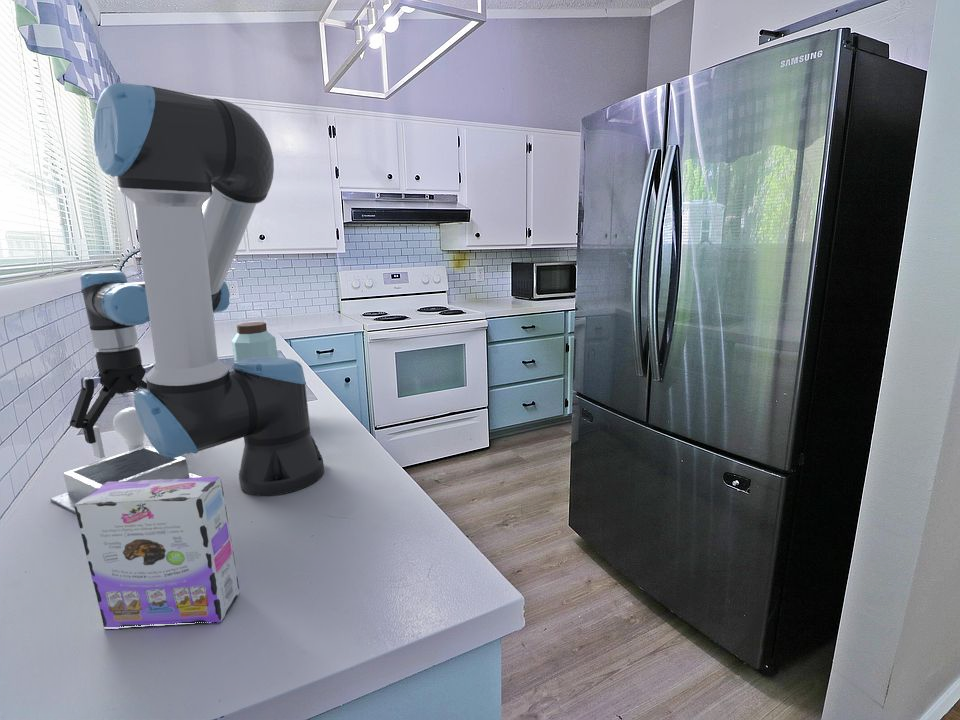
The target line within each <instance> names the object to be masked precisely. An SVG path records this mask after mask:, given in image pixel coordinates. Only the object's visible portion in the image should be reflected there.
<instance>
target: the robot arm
mask: <svg viewBox="0 0 960 720" xmlns="http://www.w3.org/2000/svg"><path fill="white" fill-rule="evenodd" d="M93 144H94V145H93V146H94V152H95V153H94V154H95V156H96V157H97V163H98V165H99V167H100V169H101V171H102V172H103V173H105V174H106V175H109V176H110V177H112V178H115V177H116V182H117V189H118V191H119V192H121V193H122V195H124V196H125V197H127V199H129V200H130V201H131V202H132V204H133V208H134V209H133V210H134V216H135V224H136V225H135V226H136V230H137V231H136V232H137V236H138V237H137V239H138V246H139V252H140V259H141V267H142V274H143V281H140V282H139V281H138V282H128V280H127V279H128V278H127V275H126V274H125V272H123V271H121V270H107V271H106V270H103V271H90V272H89V271H88V272H84V273H82V274H81V275H80V277H79V278H80V284H81V285H80V286H81V289H80V293H82V297H83V302H84V306H85V311H86V315H87V321H88V324H89V325H88V326H89V330H90V335H91V340H92V346H93V349H94V350H96V351H95V353H94V355H95V361H96V365H97V369H98V376H95V377H86V376H83V377H82V378H81V379H80V385H81V386H80V387H81V389H80V392H79V395H78V398H77V400H76V401H77V402H76V404H75V408H74V410H73V412H72V415H71V417H70V421H69V425H70V426H71V427H73V428H75V429H79V430H80V429H82V430H83V431H82V432H83V435H84V439H85V442H86V443H87V444H90V445H91V447H92V450H93V456H94V457H95V458H98V459H105V458H106V455H105V452H104V446H103V440H102V435H101V431H100V427H99V426H98V425H96V424H97V422H98V420H99V419H100V417H101V415H102V414H103V413H104V410H105V409H106V407H107V406H108V404H109V403H110V401H111V400H112V399H113V398H114V397H115V396H116V394H118V395H120V394H124V393H127V392H134V391H136V390H137V389H139V390H138V391H136V393H135V394H134V400H133V401H134V403H133V404H134V407H135V409H136V412H137V416H138V418H139V421H140V424H141V426H142V428H143V430H144V432H145V436H146V437H147V439H148V441H149V443H150V444H151V446H152V447H153V448H155V449H156V450H157V451H158V452H159V453H160V454H161V455H163V456H165V457H168V458H176V457H183V456H186V455H191V454H193V455H196V454H198V453H199V452H201V451H205V450H208V449H211V448H214V447H217V446H220V445H224V444H226V443H229V442H232V441H237V440H239V439H242V438H243V442H244V446H243V452H242V456H241V462H240V469H239V471H238V479H239V487H240V489H241V490H242V491H243V492H245V493H247V494H250V495H255V496H275V495H276V496H277V495H282V494H287V493H291V492H295V491H298V490H299V491H300V490H301V489H304V488H306V487H309V486H310V485H313V484H314V483H315V482H317V481H318V480H319V479H321V478H322V477H323V475H324V473H325V463H324V459H323V456H322V454H321V451H320V450H319V448H318V446H317V444H316V442H315V440H314V437H313V436H312V432H311V425H310V415H309V414H310V413H309V407H308V406H309V405H308V397H307V389H306V385H307V381H306V378H305V373H304V369H303V366H302V364H301V363H300V362H298V361H297V360H295V359H292V358H285V357H278V358H272V357H261V358H245V359H240V360H236V361H234V362H233V364H232V371H230V367H229V366H228V365H227V364H226V363H225V362H224V361H222V360H221V359H219V357H218V349H217V340H216V339H217V338H216V328H215V327H216V326H215V318H214V313H221V312H224V311H226V310H227V309H228V307H229V306H230V297H231V296H230V294H231V293H230V290H229V287H228V284H227V282H226V277H227V275H228V273H229V271H230V268H231V266H232V264H233V261H234V258H235V256H236V254H237V252H238V249H239V246H240V244H241V242H242V239H243V237H244V234H245V232H246V230H247V228H248V225H249V224H250V220H251V218H252V215H253V214H254V213H253V212H254V210H255V208H256V206H257V205H258V204H260V203H263V202H264V200H266V198H267V197H268V194H269V192H270V189H271V186H272V184H273V183H272V182H273V180H274V171H275V166H274V161H275V160H274V155H273V154H274V153H273V150H272V147H271V144H270V141H269V139H268V137H267V135H266V133H265V131H264V129H263V128H262V127H261V125H260V124H259V122H257V121H256V119H255V118H254V117H253V116H252V115H251V114H250V113H249V112H248V111H246V110H244V108H242V107H241V106H239V105H236V103H233V102H230V101H228V100H223V99H219V98H209V97H205V96H201V95H195V94H191V93H186V92H180V91H176V90H171V89H167V88H162V87H156V86H152V85H148V84H147V85H145V84H144V85H143V84H135V83H133V84H132V83H123V82H115V83H111V84H110V85H108V86H106V87H105V88H104V89H103V91H102V92H101V93H100V94H99V98H98V101H97V105H96V109H95V113H94V121H93ZM146 323H149V324H150V325H149V326H150V332H151V337H152V346H153V352H154V360H155V363H151V362H150V363H148V364H147V365H145V366H143V365H142V362H143V360H142V355H141V351H140V347H138V346H137V345H138V344H139V339H138V333H137V328H136V326H140V325H144V324H146ZM144 376H145V381H144V380H143V379H144ZM98 384H100V385H101V386H102V388H101V389H100V391H99V392H98V393H99V394H98V396H97V398H96V399H95V401H94V402H93V404H92V406H91V407H90V405H91V402H92V399H93V396H94V393H95V389H97V387H98ZM89 407H90V409H89Z"/></svg>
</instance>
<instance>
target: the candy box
mask: <svg viewBox="0 0 960 720" xmlns="http://www.w3.org/2000/svg"><path fill="white" fill-rule="evenodd" d="M224 494H225V493H224V488H223V482H222V477H221V475H215V476H200V477H195V478H178V479H158V480H141V481H119V482H107V483H105V484H104V485H102V486H101V487H99V488H98V489H96V490H95V491H93V492H92V493H90V494H89V495H88V496H86V497H85V498H83V499H82V500H80V501H79V502H77V503H76V504H75V505H74V508H75V512H76V514H75V515H76V518H77V522H78V527H79V532H80V535H81V538H82V542H83V547H84V551H85V556H86V560H87V564H88V567H89V572H90V576H91V579H92V580H91V581H92V584H93V586H94V591H95V594H96V595H95V596H96V598H97V599H96V600H97V604H98V609H99V610H100V615H101V620H102V625H103V626H104V627H120V626H121V627H122V626H123V627H124V626H135V625H136V626H137V625H138V626H141V625H150V624H151V625H152V624H153V625H154V624H175V623H176V624H177V623H195V622H196V623H197V622H198V623H199V622H200V623H201V622H202V623H203V622H204V623H205V622H206V623H207V622H208V624H215V623H214V622H217V623H216V624H219V623H218V622H221V623H222V621H223V620H224V618H225V617H226V615H227V614H228V612H229V610H230V609H231V607H232V606H233V605H234V603H235V601H236V600H237V598H238V596H239V595H240V593H241V591H240V585H239V580H238V573H237V567H236V560H235V555H234V549H233V543H232V536H231V530H230V524H229V519H228V513H227V512H228V511H227V507H226V506H227V505H226V500H225V499H226V498H225V495H224ZM209 622H211V623H209ZM212 622H213V623H212ZM104 627H103V628H104Z"/></svg>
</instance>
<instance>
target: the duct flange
mask: <svg viewBox="0 0 960 720" xmlns="http://www.w3.org/2000/svg"><path fill="white" fill-rule="evenodd" d="M63 477H64V482H65V486H66V490H67V492H64V493H60V494H58V495H56V496H53V497H50V501H51V502H52V503H54V504H56V505H57V506H58V505H59V506H60V507H62V508H64V509H66V510H68V511H69V512H72V513H73V514H75V515H76V512H75V508H74V505H75V504H76V503H77V502H79V501H80V500H82V499H83V498H85V497H86V496H88V495H89V494H90V493H92V492H93V491H95V490H96V489H98V488H99V487H101V486H102V485H104V484H105V483H107V482H119V481H141V480H158V479H178V478H195V477H201V476H199V475H197V474H194V473H191V472H189V468H188V462H187V458H186V457H183V456H180V457H176V458H168V457H165V456H163V455H161V454H160V453H159V452H158V451H157V450H156V449H155V448H154V447H153V446H149V445H144V446H143V447H140V448H137V449H134V450H131V451H125V452H122V453H119V454H117V455H113V456H110V457H108V458H103V459H102V460H97V461H95V462H92V463H88V464H87V465H83V466H80V467H77V468H74V469H71V470H68V471H65V472H63Z"/></svg>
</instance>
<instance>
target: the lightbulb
mask: <svg viewBox="0 0 960 720" xmlns="http://www.w3.org/2000/svg"><path fill="white" fill-rule="evenodd" d="M112 425H113V429H114V431H115V432H116V433H117V434H118V435H119V436H121V437H122V439H124V441H125V443H126V445H127V446H128V449H129V451H131V450H134V449H137V448H140V447H143V446H145V445H144V441H145V436H146V434H145V432H144V430H143V428H142V426H141V424H140V421H139V418H138V416H137V412H136V409H135V406H130V407H125V408H123V409H121V410H119V411H118V412H117V413H116V414H115V416H114V417H113V422H112Z"/></svg>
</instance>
